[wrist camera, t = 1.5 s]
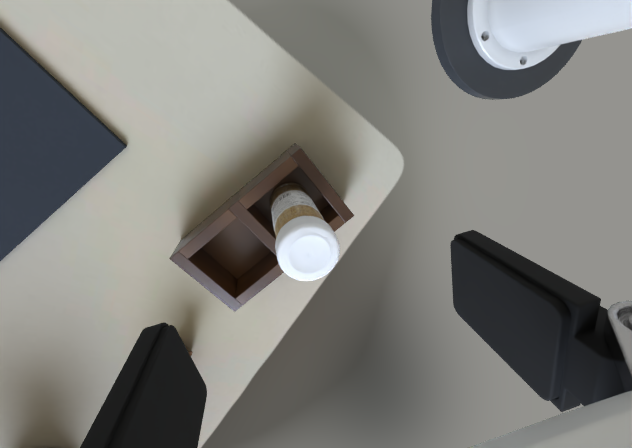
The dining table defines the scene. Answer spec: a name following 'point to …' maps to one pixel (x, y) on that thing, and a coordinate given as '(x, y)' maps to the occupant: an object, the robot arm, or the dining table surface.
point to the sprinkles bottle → (302, 234)
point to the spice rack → (252, 231)
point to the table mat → (42, 144)
